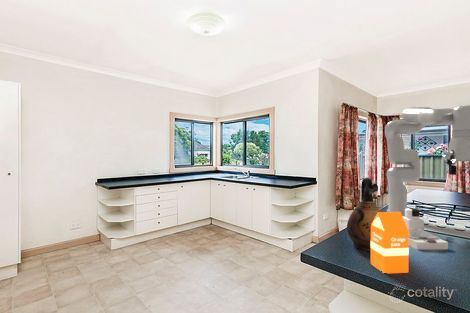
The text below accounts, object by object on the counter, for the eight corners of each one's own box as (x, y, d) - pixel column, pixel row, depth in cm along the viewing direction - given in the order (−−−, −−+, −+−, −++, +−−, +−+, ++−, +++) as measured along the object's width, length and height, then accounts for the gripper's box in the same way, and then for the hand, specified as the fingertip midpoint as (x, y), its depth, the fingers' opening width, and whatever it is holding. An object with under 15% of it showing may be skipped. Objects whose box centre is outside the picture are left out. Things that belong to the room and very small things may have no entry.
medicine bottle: (415, 230, 130) (415, 207, 129) (424, 234, 122) (424, 210, 122) (400, 229, 130) (400, 207, 130) (408, 234, 123) (408, 210, 123)
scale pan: (396, 230, 119) (396, 228, 119) (419, 230, 119) (419, 228, 119) (412, 238, 108) (412, 236, 108) (438, 238, 108) (438, 236, 108)
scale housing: (393, 236, 120) (393, 229, 120) (420, 236, 120) (420, 229, 120) (418, 250, 103) (418, 241, 103) (449, 250, 103) (449, 241, 103)
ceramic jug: (393, 255, 98) (394, 180, 98) (352, 252, 101) (352, 180, 101) (378, 240, 115) (378, 176, 114) (342, 238, 118) (342, 175, 117)
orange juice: (370, 263, 92) (370, 209, 91) (392, 262, 92) (393, 209, 92) (384, 273, 84) (384, 215, 84) (409, 272, 84) (409, 214, 84)
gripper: (476, 135, 110) (476, 173, 110) (436, 135, 110) (436, 174, 111) (493, 134, 103) (493, 175, 103) (451, 134, 103) (451, 175, 103)
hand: (463, 174), depth 107 cm, fingers open, 9 cm apart
